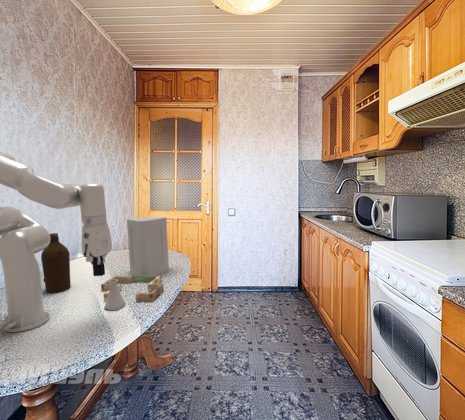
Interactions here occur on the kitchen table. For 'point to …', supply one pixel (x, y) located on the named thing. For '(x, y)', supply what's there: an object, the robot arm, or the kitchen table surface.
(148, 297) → the zigzag wooden frame
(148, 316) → the kitchen table surface
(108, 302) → the flask
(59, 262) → the olive oil
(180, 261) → the kitchen table surface
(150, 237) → the paper bag
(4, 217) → the robot arm
